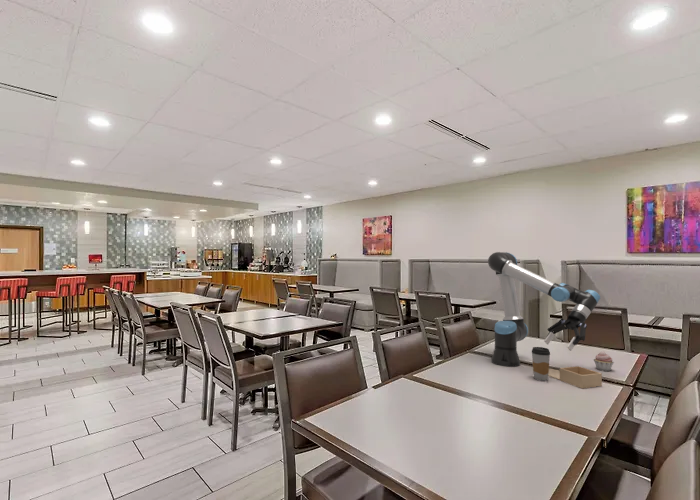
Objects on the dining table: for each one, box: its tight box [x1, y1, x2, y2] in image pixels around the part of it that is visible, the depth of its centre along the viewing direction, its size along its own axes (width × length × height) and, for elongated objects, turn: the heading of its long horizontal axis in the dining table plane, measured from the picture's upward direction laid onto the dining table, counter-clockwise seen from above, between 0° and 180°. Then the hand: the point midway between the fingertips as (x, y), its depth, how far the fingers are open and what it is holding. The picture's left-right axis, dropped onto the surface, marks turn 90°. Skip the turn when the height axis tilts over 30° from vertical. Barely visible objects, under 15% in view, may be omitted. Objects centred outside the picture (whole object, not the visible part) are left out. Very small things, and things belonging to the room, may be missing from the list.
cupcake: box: [592, 351, 615, 372], centre depth 198 cm, size 9×9×10 cm
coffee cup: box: [531, 346, 551, 382], centre depth 181 cm, size 8×8×15 cm
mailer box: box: [548, 365, 603, 390], centre depth 182 cm, size 28×12×6 cm, turn 18°
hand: (557, 345), depth 184 cm, fingers open, 13 cm apart
